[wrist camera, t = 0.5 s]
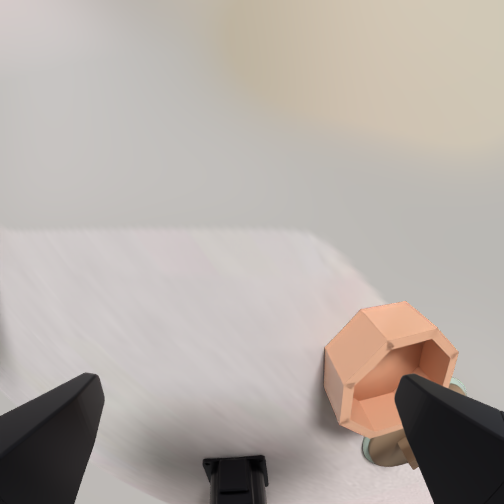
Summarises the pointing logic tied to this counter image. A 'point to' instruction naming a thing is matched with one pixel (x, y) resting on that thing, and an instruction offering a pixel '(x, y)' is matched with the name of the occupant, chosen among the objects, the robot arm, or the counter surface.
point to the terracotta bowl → (382, 365)
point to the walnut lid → (396, 446)
